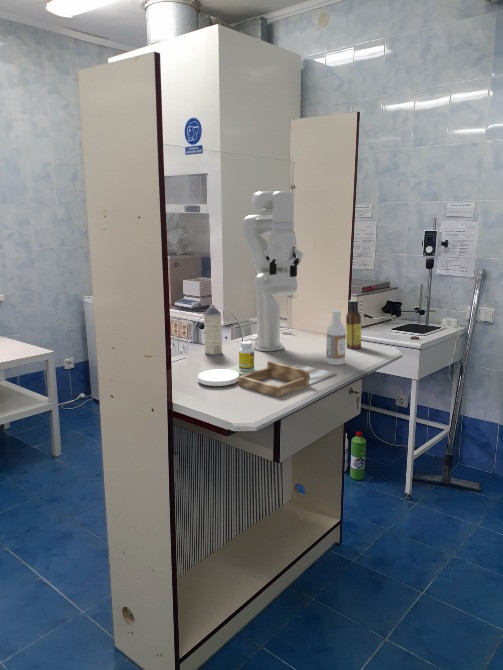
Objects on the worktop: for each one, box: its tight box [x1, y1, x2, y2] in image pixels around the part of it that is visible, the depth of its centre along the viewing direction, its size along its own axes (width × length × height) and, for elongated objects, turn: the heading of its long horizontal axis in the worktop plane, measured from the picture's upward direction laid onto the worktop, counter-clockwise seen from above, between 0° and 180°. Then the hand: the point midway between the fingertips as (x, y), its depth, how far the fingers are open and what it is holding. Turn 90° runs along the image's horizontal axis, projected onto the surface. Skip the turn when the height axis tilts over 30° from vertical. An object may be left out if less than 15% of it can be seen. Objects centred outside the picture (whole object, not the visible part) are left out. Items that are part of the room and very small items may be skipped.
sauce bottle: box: [345, 299, 362, 350], centre depth 223 cm, size 6×6×20 cm
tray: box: [226, 364, 265, 376], centre depth 191 cm, size 12×10×2 cm
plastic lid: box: [197, 368, 239, 387], centre depth 183 cm, size 14×14×2 cm
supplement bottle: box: [238, 340, 255, 371], centre depth 190 cm, size 5×5×10 cm
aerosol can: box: [203, 304, 223, 357], centre depth 216 cm, size 7×7×20 cm
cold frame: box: [238, 360, 337, 398], centre depth 183 cm, size 17×31×5 cm, turn 136°
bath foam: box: [325, 309, 346, 366], centre depth 200 cm, size 7×7×20 cm
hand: (283, 275), depth 195 cm, fingers open, 9 cm apart
